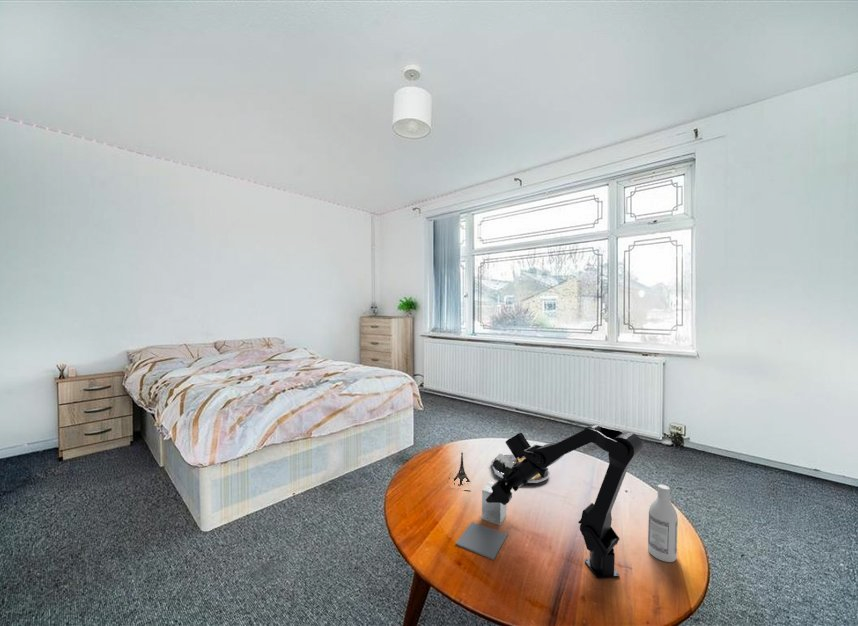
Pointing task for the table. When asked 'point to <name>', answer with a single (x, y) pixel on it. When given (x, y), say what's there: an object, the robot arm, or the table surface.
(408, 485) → the table surface
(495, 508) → the silver grey block
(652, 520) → the bath foam
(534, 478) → the food plate
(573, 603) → the table surface
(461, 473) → the eiffel tower figurine
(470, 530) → the rubber mat
